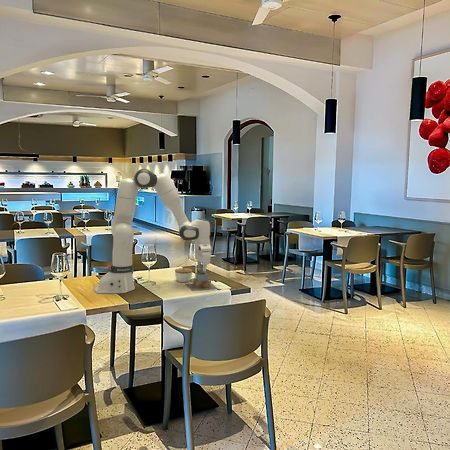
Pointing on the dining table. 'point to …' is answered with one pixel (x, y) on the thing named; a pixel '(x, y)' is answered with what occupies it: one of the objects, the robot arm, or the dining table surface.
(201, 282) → the block
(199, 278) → the tower top
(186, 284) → the mat
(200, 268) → the olive green cylinder
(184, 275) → the lidded jar
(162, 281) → the dining table surface
